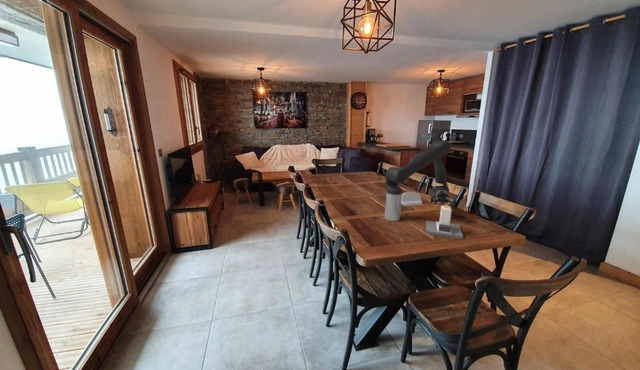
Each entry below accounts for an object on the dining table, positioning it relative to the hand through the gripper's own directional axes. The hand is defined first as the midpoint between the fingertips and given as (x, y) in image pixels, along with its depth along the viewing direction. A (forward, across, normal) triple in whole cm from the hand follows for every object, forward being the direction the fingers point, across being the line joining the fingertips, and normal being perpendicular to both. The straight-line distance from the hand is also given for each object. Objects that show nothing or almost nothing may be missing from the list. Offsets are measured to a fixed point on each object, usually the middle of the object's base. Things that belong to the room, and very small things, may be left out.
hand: (444, 203), depth 148 cm
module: (+11, 0, +11) cm, 16 cm away
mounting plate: (+10, 0, +13) cm, 16 cm away
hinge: (-34, -20, +13) cm, 41 cm away
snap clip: (+16, 0, +11) cm, 19 cm away
